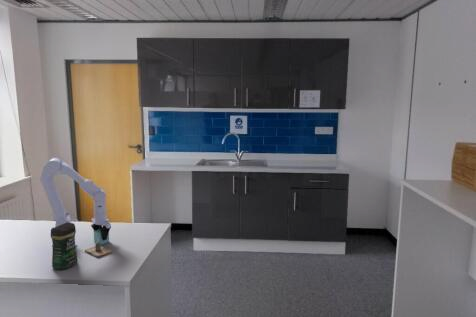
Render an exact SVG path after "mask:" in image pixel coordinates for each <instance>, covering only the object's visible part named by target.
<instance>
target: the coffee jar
mask: <svg viewBox="0 0 476 317" xmlns="http://www.w3.org/2000/svg"><path fill="white" fill-rule="evenodd" d="M76 232H77V229H76V225H75V223H74V222H71V223H68V222H66V223H64V224H62V225H59V226H57V227H56V226H54V227H52V228H51V229H50V238H51V241H52V242H51V243H52V245H53V246H52V256H51V257H52V259H51V267H52V269H54V270H58V271H59V270H67V269H69V268H71V267H72V266H74V265H75V264H77V263H78V255H77V248H76V246H75V244H76V241H75V240H76Z"/></svg>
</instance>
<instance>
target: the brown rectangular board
mask: <svg viewBox="0 0 476 317" xmlns="http://www.w3.org/2000/svg"><path fill="white" fill-rule="evenodd" d="M84 252H85V253H87V254H88V255H90V256H93V257H95V258H97V259H99V258H102V257H104V256H107V255H110V254H112V250H110V249H108V248H106V247H103V246H101V245H100V242H97V243H95V246H92V247H89V248H87V249H84Z"/></svg>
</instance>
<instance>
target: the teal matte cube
mask: <svg viewBox="0 0 476 317" xmlns="http://www.w3.org/2000/svg"><path fill="white" fill-rule="evenodd" d="M97 242H100V246H101V245H103V244H106V243H109V242H110V232H109V233H108V237H107V240H102V235H101V231H100V229H99V230H96V231H94V230H93V243H95V244H96V243H97Z"/></svg>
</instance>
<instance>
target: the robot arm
mask: <svg viewBox="0 0 476 317" xmlns="http://www.w3.org/2000/svg"><path fill="white" fill-rule="evenodd" d="M57 173H58V174H59V175H66V176H68V178H69V177H70V178H71V179H72V180H73V181H75V182H77V183H78V185H79V187H80V189H81V190H82V191H84V192H85V193H86V194H87V195H89V196H90V197H92V199H93V203H94V204H93V215H94V216H93V217H92V218H91V219H90V220H91V223H93V224H91V225H90V227H91V228H92V230H93V232H94V231H96V230H99V229H100V231H101V235H102V240H107V237H108V233H109V234H110V230H111V228H112V225H111V223H110V222H109V220H110V219H109V218H107V217H108V215H107V200H106V199H107V194H106V191H105V189H104V188H102V187H101V186H98V185H97V184H96V183H94V180H93V179H91V180H90V179H89V178H87V179H86V178H84V177H83V176H82V175H81V174H79V173H78V172H77V171H76V170H75V169H74V168H73V167H72V166H70V165H69V164H67V162H65V161H63V160H62V159H61V158H59V157H52V158H50V159H49V161H47V162H46V163H45V164H44V165H43V168H42V173H41V175H40V183H41V185H42V188H43V190H44V192H45V194H46V197H47V199H48V203H49V205H50V207H51V209H52V212H53V214H54V220H55V226H54V227H57V226H59V225H62V224H64V223H66V222H68V223H72V222H73V217H72V215H71V214H70V213H68V210H67V209H66V208H65V205H64V203H63V201H62V198H61V196H60V193H59V191H58V189H57V186H56V184H55V181H54V178H55V176H56V174H57ZM76 246H77V247H78V244H77V243H75V247H76ZM51 247H53V244H52V245H51Z"/></svg>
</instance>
